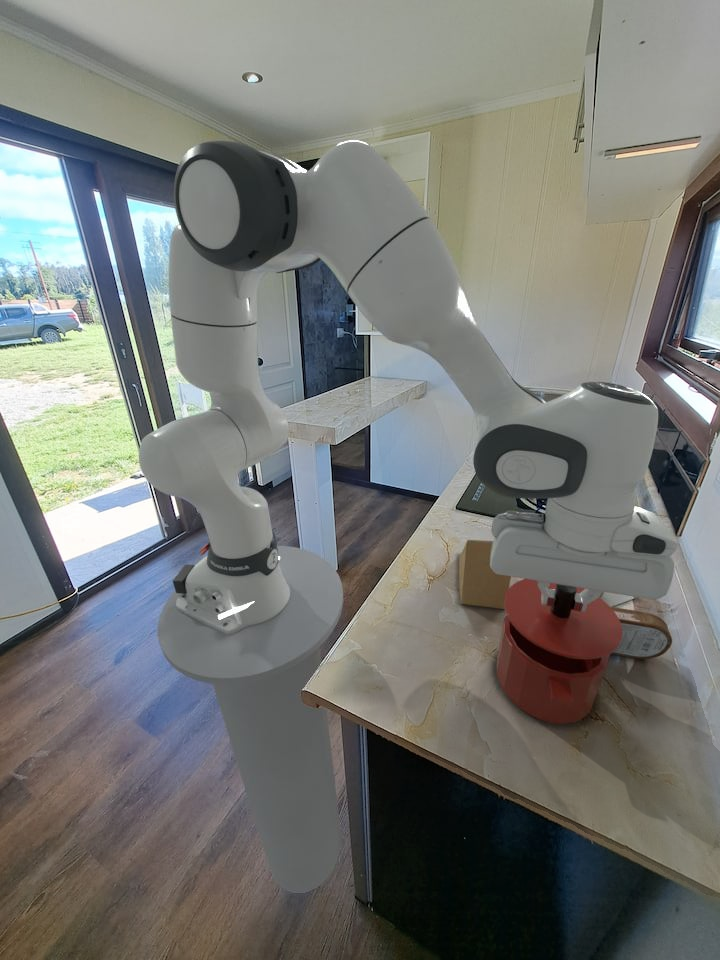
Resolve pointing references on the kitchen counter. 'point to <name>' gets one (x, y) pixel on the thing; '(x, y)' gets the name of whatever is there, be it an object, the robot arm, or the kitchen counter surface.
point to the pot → (546, 679)
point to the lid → (563, 621)
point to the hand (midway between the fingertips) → (562, 605)
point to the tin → (642, 634)
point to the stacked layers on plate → (614, 598)
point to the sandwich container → (480, 577)
